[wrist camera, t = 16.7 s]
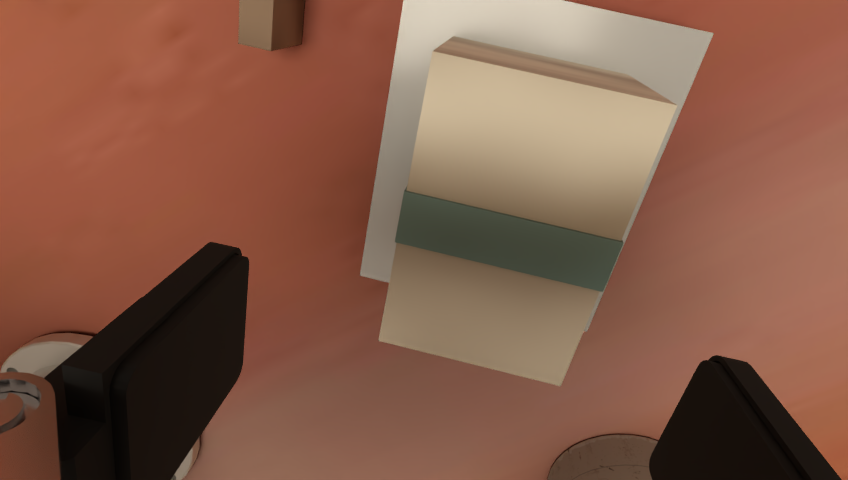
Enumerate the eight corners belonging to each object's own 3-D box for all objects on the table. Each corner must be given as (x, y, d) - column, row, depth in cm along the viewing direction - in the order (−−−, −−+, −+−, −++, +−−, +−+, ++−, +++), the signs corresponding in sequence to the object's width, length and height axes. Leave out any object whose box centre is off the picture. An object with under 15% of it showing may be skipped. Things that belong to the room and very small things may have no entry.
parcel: (548, 295, 21) (562, 388, 16) (406, 261, 21) (376, 342, 16) (629, 74, 17) (680, 106, 12) (451, 35, 17) (429, 51, 12)
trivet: (579, 300, 24) (587, 331, 21) (373, 249, 24) (359, 275, 22) (688, 29, 18) (713, 33, 16) (420, -30, 19) (409, -34, 16)
